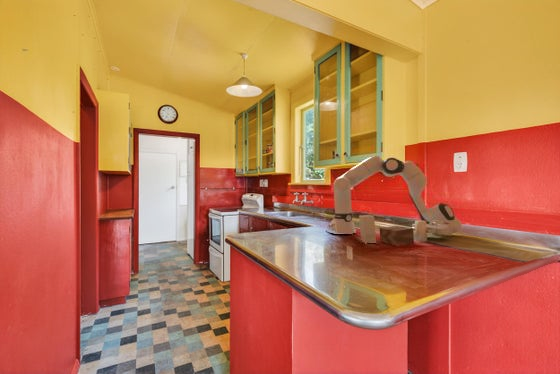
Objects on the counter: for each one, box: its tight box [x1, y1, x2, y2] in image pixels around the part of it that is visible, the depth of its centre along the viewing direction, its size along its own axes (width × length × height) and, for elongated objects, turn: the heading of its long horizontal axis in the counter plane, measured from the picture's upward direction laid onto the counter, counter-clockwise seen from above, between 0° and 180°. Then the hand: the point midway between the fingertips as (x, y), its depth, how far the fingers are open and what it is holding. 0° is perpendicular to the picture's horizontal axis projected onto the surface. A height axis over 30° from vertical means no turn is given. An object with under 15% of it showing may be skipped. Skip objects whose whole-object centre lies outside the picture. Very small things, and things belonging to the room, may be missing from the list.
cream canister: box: [414, 219, 428, 243], centre depth 141 cm, size 6×6×11 cm
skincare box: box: [358, 214, 377, 244], centre depth 143 cm, size 8×7×16 cm
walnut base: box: [379, 225, 415, 247], centre depth 140 cm, size 12×12×8 cm
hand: (419, 230), depth 141 cm, fingers open, 8 cm apart
